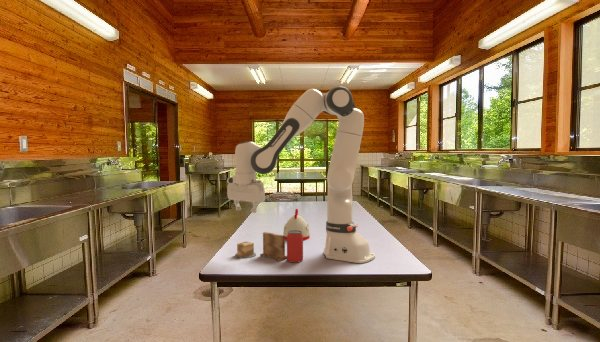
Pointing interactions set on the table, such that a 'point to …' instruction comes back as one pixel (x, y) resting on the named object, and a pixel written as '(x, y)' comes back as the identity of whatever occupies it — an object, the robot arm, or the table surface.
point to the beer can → (294, 246)
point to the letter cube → (245, 249)
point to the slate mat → (245, 257)
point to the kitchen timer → (297, 226)
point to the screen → (274, 246)
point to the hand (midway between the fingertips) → (246, 211)
